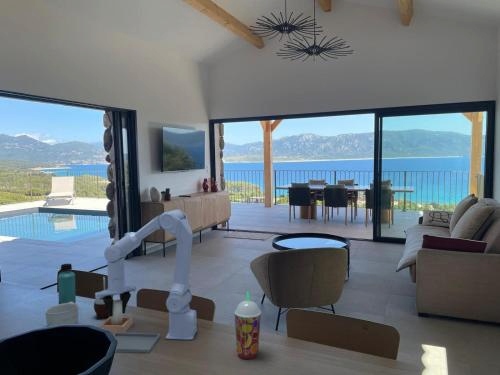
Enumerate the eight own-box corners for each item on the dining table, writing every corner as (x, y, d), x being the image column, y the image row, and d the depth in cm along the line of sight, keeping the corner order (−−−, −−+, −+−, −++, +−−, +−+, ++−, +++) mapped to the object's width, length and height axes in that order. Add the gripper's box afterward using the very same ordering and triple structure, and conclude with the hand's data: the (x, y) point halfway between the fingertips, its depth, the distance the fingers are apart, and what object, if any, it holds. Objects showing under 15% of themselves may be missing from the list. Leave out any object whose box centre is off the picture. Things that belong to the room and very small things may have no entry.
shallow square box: (132, 325, 143) (132, 317, 143) (123, 334, 134) (123, 326, 134) (110, 324, 143) (110, 316, 143) (99, 334, 135) (99, 325, 135)
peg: (124, 321, 141) (124, 299, 140) (119, 325, 137) (119, 303, 136) (113, 320, 141) (113, 299, 140) (109, 325, 137) (108, 303, 136)
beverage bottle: (79, 311, 156) (78, 263, 156) (64, 316, 151) (63, 266, 150) (70, 308, 160) (69, 261, 159) (54, 313, 154) (54, 264, 154)
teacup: (65, 336, 133) (65, 313, 133) (38, 333, 135) (38, 311, 135) (89, 321, 147) (89, 300, 146) (65, 318, 149) (64, 298, 149)
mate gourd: (102, 322, 145) (101, 283, 145) (88, 318, 149) (88, 280, 148) (117, 316, 152) (117, 279, 151) (104, 312, 156) (104, 276, 155)
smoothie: (235, 348, 124) (235, 287, 123) (260, 348, 124) (261, 288, 123) (233, 361, 116) (233, 296, 115) (260, 361, 116) (261, 296, 115)
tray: (160, 338, 132) (160, 333, 132) (149, 354, 120) (149, 349, 120) (115, 336, 133) (115, 332, 133) (99, 352, 121) (99, 348, 121)
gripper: (130, 271, 146) (131, 306, 146) (91, 278, 136) (92, 316, 137) (138, 275, 141) (139, 311, 141) (99, 283, 131) (99, 321, 131)
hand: (116, 314), depth 139 cm, fingers closed on peg, 4 cm apart
